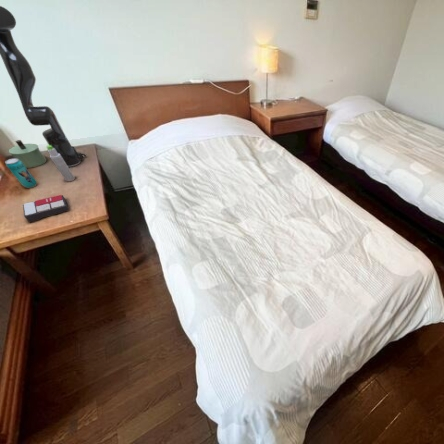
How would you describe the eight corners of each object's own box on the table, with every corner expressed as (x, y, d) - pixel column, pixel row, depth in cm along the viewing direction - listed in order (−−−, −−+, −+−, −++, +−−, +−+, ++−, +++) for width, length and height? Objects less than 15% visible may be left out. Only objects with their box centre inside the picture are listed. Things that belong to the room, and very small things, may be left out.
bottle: (76, 176, 142) (56, 144, 128) (73, 181, 138) (52, 148, 125) (67, 177, 141) (46, 144, 127) (64, 181, 138) (41, 148, 124)
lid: (11, 147, 144) (4, 138, 140) (40, 143, 150) (33, 134, 146) (8, 157, 137) (0, 147, 133) (38, 153, 142) (31, 143, 138)
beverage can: (30, 189, 130) (10, 164, 120) (21, 187, 131) (0, 162, 121) (41, 183, 135) (22, 159, 124) (32, 181, 135) (12, 157, 125)
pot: (21, 160, 149) (11, 147, 144) (46, 156, 155) (38, 143, 149) (19, 169, 142) (8, 156, 137) (45, 165, 148) (36, 152, 142)
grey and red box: (65, 204, 119) (23, 215, 111) (69, 211, 122) (28, 222, 113) (61, 193, 125) (21, 203, 116) (66, 200, 127) (26, 210, 119)
